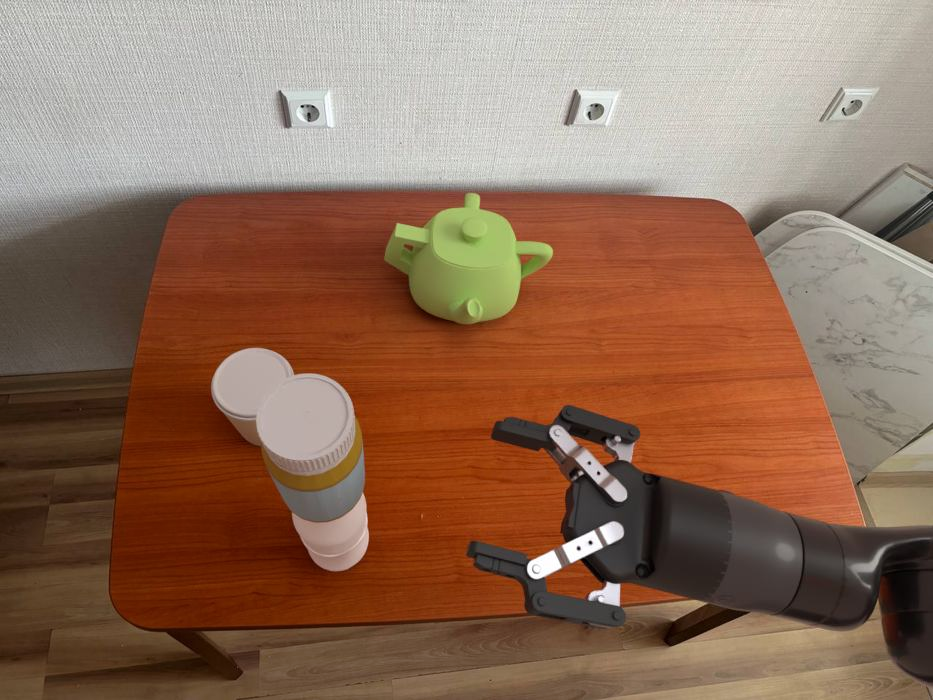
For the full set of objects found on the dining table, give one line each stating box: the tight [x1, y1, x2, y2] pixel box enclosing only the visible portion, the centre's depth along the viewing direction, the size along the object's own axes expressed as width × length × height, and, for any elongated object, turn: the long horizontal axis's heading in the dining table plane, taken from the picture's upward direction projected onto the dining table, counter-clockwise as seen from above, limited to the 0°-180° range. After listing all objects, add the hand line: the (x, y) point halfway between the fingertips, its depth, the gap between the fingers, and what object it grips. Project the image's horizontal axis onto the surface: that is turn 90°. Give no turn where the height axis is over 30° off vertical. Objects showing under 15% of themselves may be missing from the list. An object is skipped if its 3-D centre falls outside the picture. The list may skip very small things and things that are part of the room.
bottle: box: [256, 373, 366, 523], centre depth 45 cm, size 7×7×15 cm
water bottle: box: [291, 492, 370, 572], centre depth 62 cm, size 7×7×25 cm
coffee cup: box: [210, 347, 295, 447], centre depth 74 cm, size 9×9×12 cm
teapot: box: [383, 192, 554, 326], centre depth 87 cm, size 19×20×14 cm
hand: (481, 485), depth 41 cm, fingers open, 8 cm apart
